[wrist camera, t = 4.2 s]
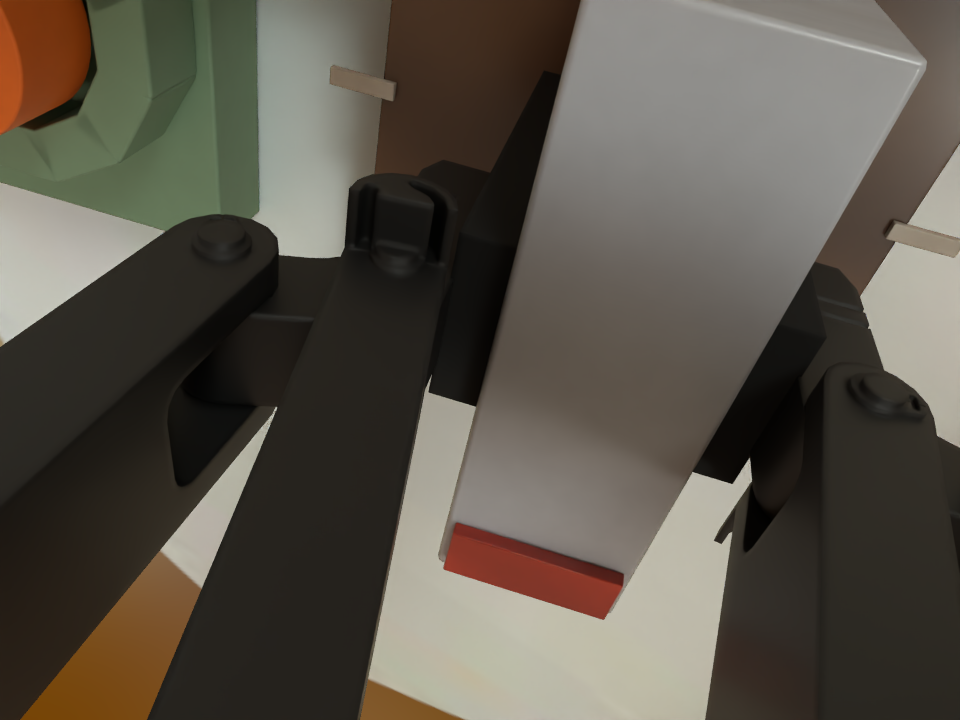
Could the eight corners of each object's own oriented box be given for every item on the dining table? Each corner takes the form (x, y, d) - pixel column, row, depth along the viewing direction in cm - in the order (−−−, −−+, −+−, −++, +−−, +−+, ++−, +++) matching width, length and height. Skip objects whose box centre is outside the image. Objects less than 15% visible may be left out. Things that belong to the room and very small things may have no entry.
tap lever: (638, -118, 12) (584, -24, 6) (816, -72, 12) (943, 70, 6) (518, 311, 18) (431, 574, 12) (637, 346, 18) (609, 630, 12)
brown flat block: (408, -373, 13) (354, -404, 10) (1176, -189, 12) (1276, -184, 10) (352, 282, 22) (316, 333, 19) (785, 409, 21) (795, 476, 19)
